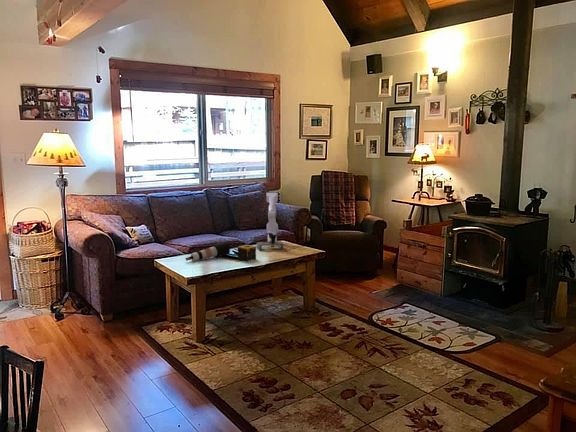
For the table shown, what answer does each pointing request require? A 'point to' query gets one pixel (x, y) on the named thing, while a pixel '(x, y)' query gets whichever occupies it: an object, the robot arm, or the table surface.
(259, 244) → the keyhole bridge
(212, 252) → the white black cylinder
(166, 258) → the table surface
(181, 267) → the table surface
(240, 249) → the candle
